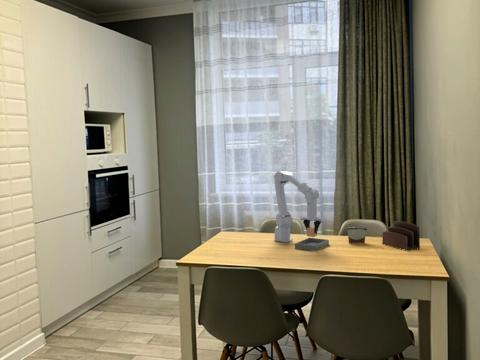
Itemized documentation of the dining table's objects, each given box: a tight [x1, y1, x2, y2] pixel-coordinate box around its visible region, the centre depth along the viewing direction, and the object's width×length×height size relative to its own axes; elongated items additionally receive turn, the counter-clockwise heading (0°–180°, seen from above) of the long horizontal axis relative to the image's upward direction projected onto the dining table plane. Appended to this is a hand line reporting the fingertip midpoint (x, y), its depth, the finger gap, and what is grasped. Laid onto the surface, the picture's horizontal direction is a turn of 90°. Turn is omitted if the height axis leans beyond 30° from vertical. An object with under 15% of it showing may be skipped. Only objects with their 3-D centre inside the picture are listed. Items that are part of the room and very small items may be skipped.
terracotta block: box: [306, 226, 318, 238], centre depth 262 cm, size 4×4×5 cm
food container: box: [345, 224, 368, 244], centre depth 272 cm, size 12×6×10 cm, turn 84°
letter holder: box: [382, 220, 421, 251], centre depth 259 cm, size 10×20×14 cm, turn 24°
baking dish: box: [294, 237, 330, 252], centre depth 263 cm, size 13×19×3 cm
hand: (312, 232), depth 262 cm, fingers closed on terracotta block, 4 cm apart
